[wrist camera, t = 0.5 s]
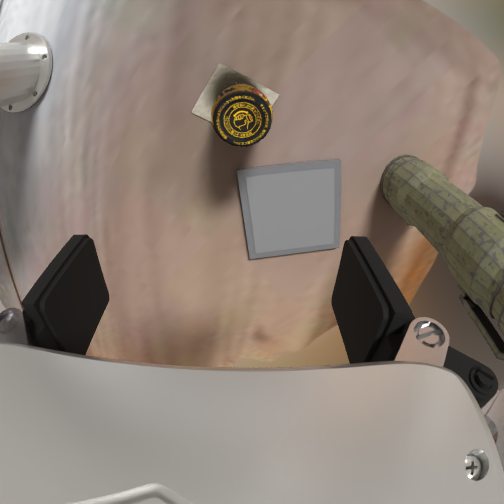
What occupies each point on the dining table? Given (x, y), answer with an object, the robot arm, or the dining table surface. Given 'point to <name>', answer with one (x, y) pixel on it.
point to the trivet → (291, 207)
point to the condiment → (236, 107)
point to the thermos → (454, 236)
